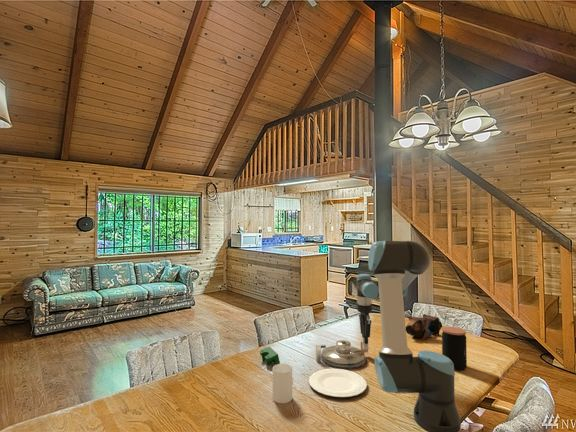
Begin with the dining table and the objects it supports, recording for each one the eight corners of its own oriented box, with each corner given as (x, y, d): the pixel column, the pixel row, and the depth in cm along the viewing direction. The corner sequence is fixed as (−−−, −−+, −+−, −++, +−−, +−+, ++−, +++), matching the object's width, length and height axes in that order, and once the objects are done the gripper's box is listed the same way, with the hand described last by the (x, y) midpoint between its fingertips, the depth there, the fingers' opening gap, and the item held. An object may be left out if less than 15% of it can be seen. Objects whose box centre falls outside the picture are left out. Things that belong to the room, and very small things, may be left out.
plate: (321, 405, 124) (321, 400, 124) (301, 376, 148) (301, 371, 148) (378, 396, 130) (378, 391, 130) (350, 369, 155) (350, 365, 155)
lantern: (430, 342, 207) (406, 348, 193) (416, 319, 216) (392, 323, 203) (449, 331, 197) (424, 336, 183) (433, 307, 206) (409, 310, 193)
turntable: (333, 367, 152) (332, 355, 152) (315, 350, 173) (315, 339, 173) (378, 360, 159) (378, 349, 160) (356, 345, 180) (356, 335, 181)
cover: (350, 358, 160) (350, 347, 160) (331, 355, 164) (331, 344, 164) (354, 351, 168) (354, 340, 168) (336, 348, 172) (336, 338, 172)
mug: (284, 386, 138) (284, 358, 138) (296, 400, 127) (296, 370, 127) (266, 390, 134) (266, 361, 135) (276, 405, 123) (276, 373, 124)
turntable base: (345, 374, 148) (345, 357, 149) (309, 359, 165) (309, 343, 166) (374, 359, 165) (374, 344, 165) (339, 347, 182) (339, 333, 182)
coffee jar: (470, 372, 151) (469, 334, 151) (445, 370, 153) (445, 332, 154) (462, 362, 161) (461, 327, 162) (439, 361, 164) (439, 325, 164)
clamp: (264, 368, 164) (258, 351, 167) (274, 363, 167) (268, 346, 169) (270, 369, 154) (263, 350, 157) (281, 363, 157) (274, 345, 159)
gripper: (376, 306, 162) (377, 353, 161) (367, 300, 175) (368, 344, 174) (361, 307, 161) (362, 354, 161) (353, 301, 174) (354, 345, 173)
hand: (365, 349), depth 167 cm, fingers closed
